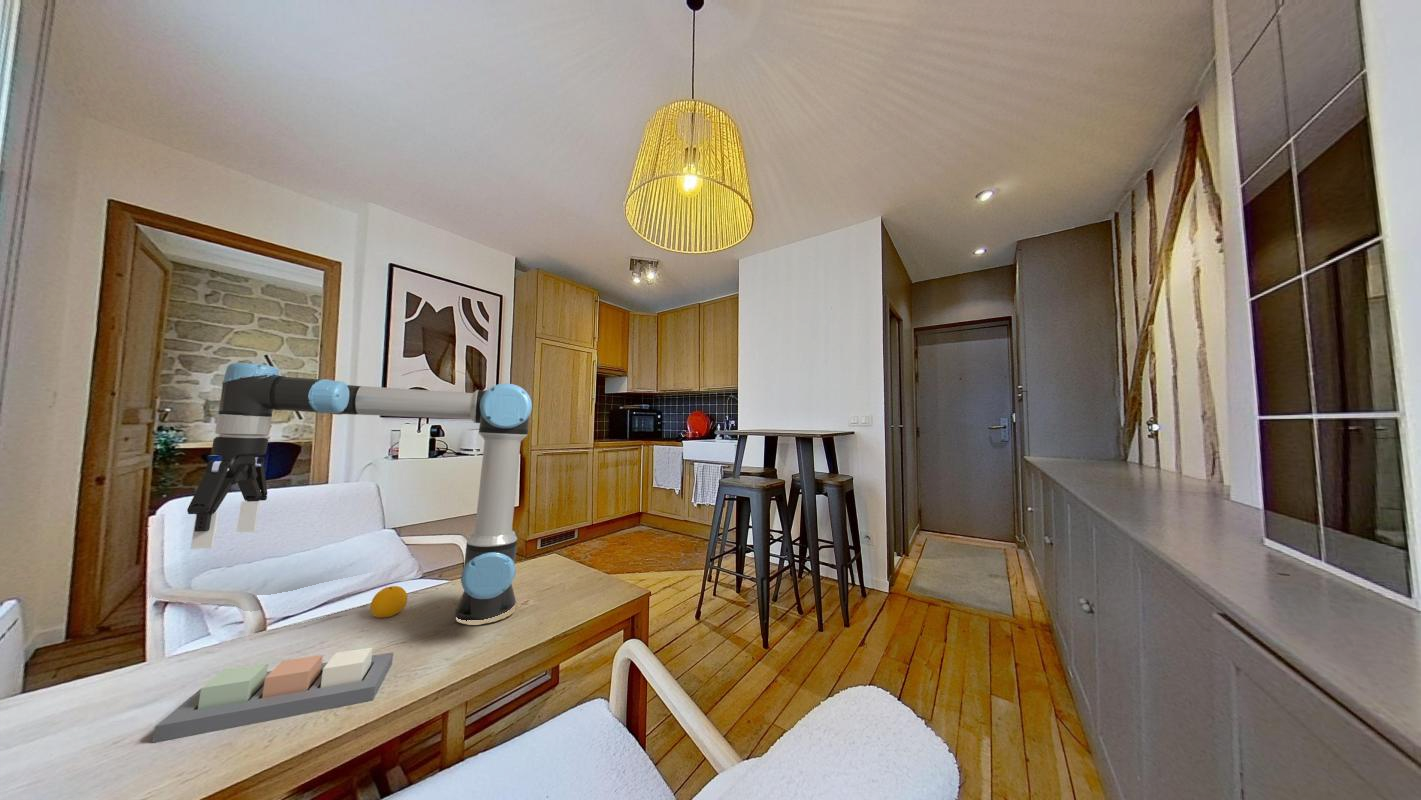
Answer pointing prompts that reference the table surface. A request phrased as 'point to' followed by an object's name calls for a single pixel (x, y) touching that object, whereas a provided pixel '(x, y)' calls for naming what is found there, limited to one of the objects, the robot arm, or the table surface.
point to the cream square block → (346, 667)
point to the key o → (233, 685)
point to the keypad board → (272, 704)
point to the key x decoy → (292, 676)
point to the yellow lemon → (388, 601)
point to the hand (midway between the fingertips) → (225, 539)
